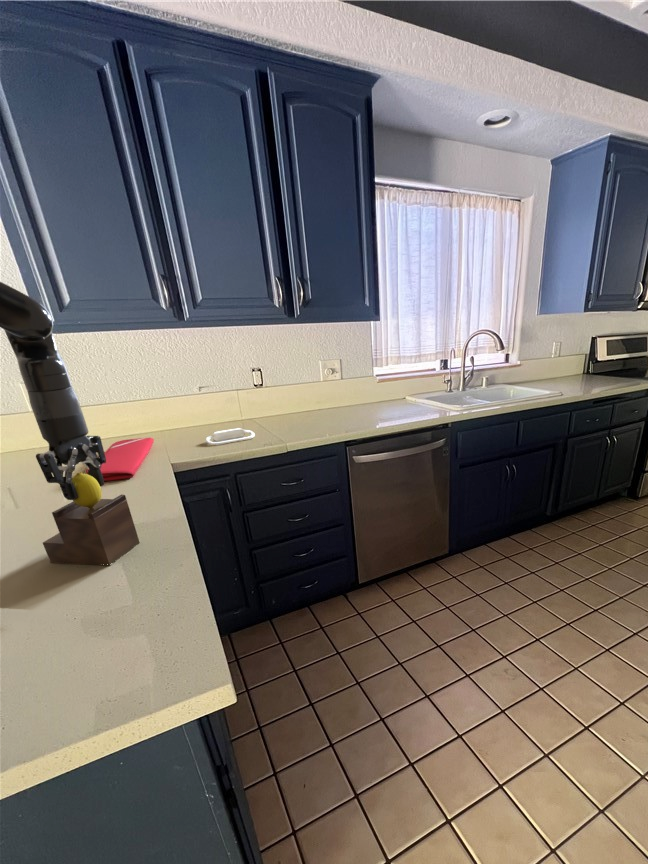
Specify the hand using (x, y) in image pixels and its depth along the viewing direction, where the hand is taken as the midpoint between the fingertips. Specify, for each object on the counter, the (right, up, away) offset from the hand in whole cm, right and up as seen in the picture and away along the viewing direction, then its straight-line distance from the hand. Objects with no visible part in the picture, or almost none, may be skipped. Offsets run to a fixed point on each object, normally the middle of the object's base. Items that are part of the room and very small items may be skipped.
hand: (86, 492), depth 89 cm
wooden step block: (-2, -13, +7) cm, 15 cm away
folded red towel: (-33, +14, +66) cm, 75 cm away
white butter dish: (-2, +26, +91) cm, 94 cm away
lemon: (0, -4, +2) cm, 4 cm away
